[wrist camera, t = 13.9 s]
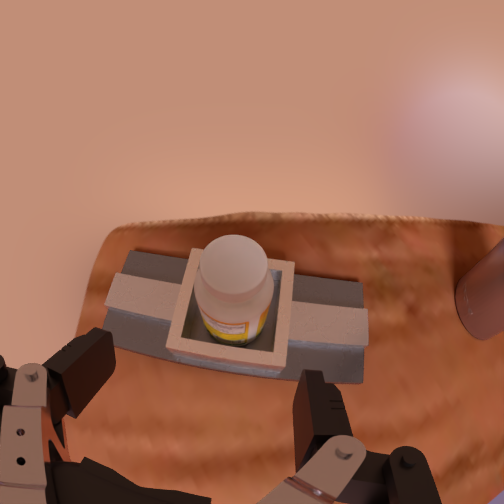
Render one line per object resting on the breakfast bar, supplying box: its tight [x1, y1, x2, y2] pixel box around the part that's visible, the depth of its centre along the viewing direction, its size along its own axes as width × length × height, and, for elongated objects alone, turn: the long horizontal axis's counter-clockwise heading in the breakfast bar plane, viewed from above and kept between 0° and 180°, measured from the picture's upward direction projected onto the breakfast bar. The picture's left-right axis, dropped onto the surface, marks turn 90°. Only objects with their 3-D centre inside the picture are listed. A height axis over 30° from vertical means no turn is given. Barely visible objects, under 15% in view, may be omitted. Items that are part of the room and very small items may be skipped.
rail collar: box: [102, 248, 368, 384], centre depth 24 cm, size 24×10×4 cm, turn 82°
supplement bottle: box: [194, 235, 274, 346], centre depth 20 cm, size 5×5×10 cm
